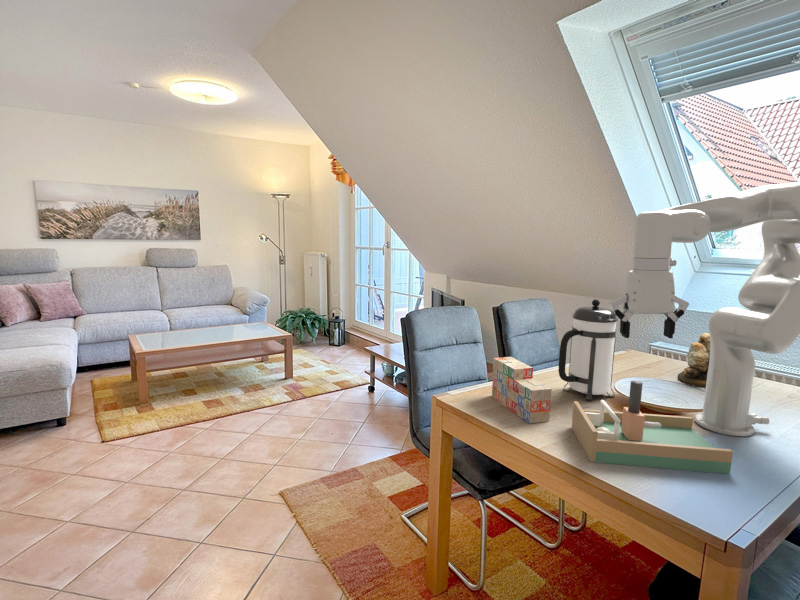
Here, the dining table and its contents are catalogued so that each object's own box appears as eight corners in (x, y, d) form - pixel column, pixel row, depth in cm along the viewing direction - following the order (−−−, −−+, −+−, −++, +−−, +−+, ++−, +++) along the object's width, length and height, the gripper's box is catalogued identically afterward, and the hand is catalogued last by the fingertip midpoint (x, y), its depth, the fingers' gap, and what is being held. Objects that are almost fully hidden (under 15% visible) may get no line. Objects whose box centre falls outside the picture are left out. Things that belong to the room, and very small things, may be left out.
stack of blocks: (549, 422, 119) (552, 377, 117) (529, 424, 117) (531, 379, 115) (509, 394, 139) (511, 355, 137) (491, 395, 137) (492, 357, 135)
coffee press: (562, 382, 151) (568, 294, 146) (614, 390, 144) (623, 298, 139) (556, 399, 135) (563, 301, 131) (614, 408, 128) (623, 305, 124)
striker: (655, 433, 106) (661, 380, 104) (664, 442, 101) (670, 388, 99) (621, 430, 107) (626, 378, 105) (628, 440, 102) (633, 385, 100)
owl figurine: (685, 371, 166) (691, 326, 163) (723, 379, 158) (730, 332, 155) (672, 381, 153) (678, 333, 151) (713, 390, 145) (720, 339, 143)
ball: (589, 426, 108) (594, 441, 108) (594, 433, 104) (599, 449, 104) (606, 422, 107) (611, 437, 107) (611, 429, 103) (616, 444, 103)
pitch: (688, 435, 111) (692, 401, 110) (730, 473, 94) (735, 433, 92) (571, 426, 115) (574, 393, 114) (590, 461, 98) (593, 422, 96)
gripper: (682, 263, 106) (677, 333, 109) (606, 264, 108) (603, 333, 111) (699, 266, 99) (693, 341, 102) (618, 267, 101) (614, 340, 104)
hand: (646, 336), depth 106 cm, fingers open, 9 cm apart
